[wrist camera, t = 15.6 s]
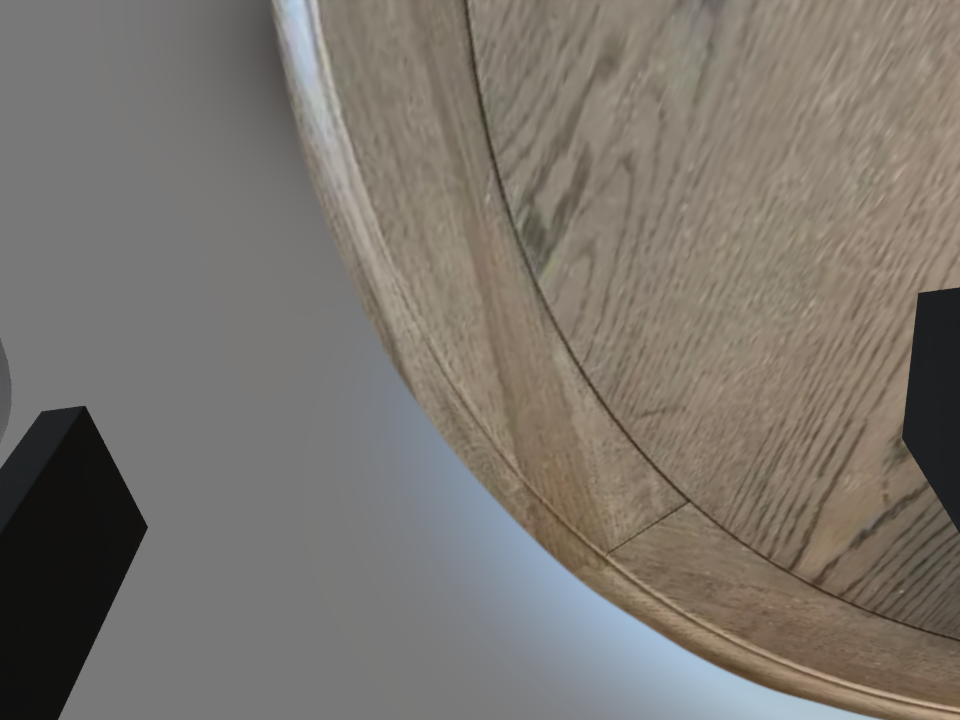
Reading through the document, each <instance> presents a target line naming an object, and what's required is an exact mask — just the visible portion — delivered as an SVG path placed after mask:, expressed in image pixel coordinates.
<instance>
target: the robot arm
mask: <svg viewBox="0 0 960 720" xmlns="http://www.w3.org/2000/svg"><path fill="white" fill-rule="evenodd" d="M902 439H903V441H904V442H905V444H906V446H907V447H908V449H909V451H910V452H911V454H912V455H913V457H914V459H915V460H916V462H917V464H918V465H919V467H920V469H921V470H922V472H923V474H924V475H925V477H926V479H927V480H928V482H929V483H930V485H931V487H932V488H933V490H934V492H935V493H936V495H937V497H938V498H939V500H940V502H941V503H942V505H943V507H944V508H945V510H946V511H947V513H948V515H949V516H950V518H951V520H952V521H953V523H954V525H955V526H956V528H957V530H958V531H959V533H960V288H952V289H945V290H938V291H930V292H923V293H918V300H917V309H916V318H915V327H914V336H913V345H912V354H911V362H910V371H909V380H908V389H907V398H906V407H905V416H904V425H903V434H902ZM147 528H148V526H147V525H146V522H145V520H144V519H143V517H142V515H141V513H140V511H139V509H138V507H137V505H136V503H135V501H134V499H133V497H132V495H131V493H130V491H129V490H128V488H127V486H126V484H125V482H124V480H123V478H122V476H121V474H120V472H119V470H118V468H117V466H116V464H115V462H114V461H113V459H112V457H111V455H110V453H109V451H108V449H107V447H106V445H105V443H104V441H103V439H102V437H101V435H100V433H99V431H98V429H97V428H96V426H95V424H94V422H93V420H92V418H91V416H90V414H89V412H88V410H87V408H86V406H79V407H72V408H65V409H57V410H50V411H42V412H41V413H40V415H39V416H38V417H37V419H36V420H35V422H34V423H33V424H32V426H31V427H30V428H29V430H28V431H27V433H26V434H25V435H24V437H23V438H22V440H21V441H20V442H19V444H18V445H17V446H16V448H15V449H14V451H13V452H12V453H11V455H10V456H9V458H8V459H7V460H6V462H5V463H4V465H3V466H2V467H1V469H0V720H58V718H59V716H60V714H61V712H62V710H63V707H64V706H65V703H66V701H67V699H68V697H69V695H70V693H71V691H72V688H73V686H74V684H75V682H76V680H77V678H78V676H79V673H80V671H81V669H82V667H83V665H84V663H85V660H86V659H87V656H88V654H89V652H90V650H91V648H92V646H93V644H94V641H95V639H96V637H97V635H98V633H99V631H100V629H101V626H102V624H103V622H104V620H105V618H106V616H107V613H108V611H109V610H110V607H111V605H112V603H113V601H114V599H115V597H116V595H117V592H118V590H119V588H120V586H121V584H122V582H123V580H124V578H125V575H126V573H127V571H128V569H129V567H130V565H131V563H132V560H133V558H134V556H135V554H136V552H137V550H138V548H139V545H140V543H141V541H142V539H143V537H144V535H145V533H146V531H147Z"/></svg>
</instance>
